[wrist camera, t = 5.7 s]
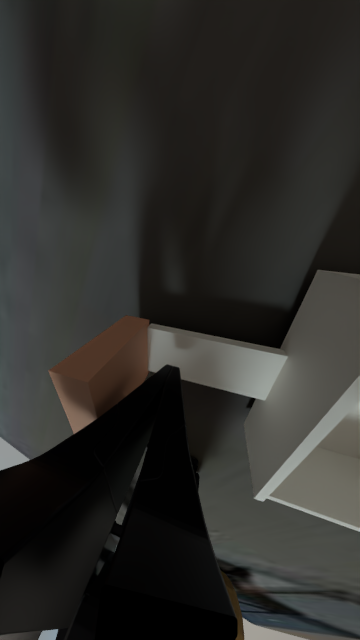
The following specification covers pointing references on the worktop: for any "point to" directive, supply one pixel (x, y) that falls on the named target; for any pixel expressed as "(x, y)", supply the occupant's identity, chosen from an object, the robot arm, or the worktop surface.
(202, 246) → the worktop surface
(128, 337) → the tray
